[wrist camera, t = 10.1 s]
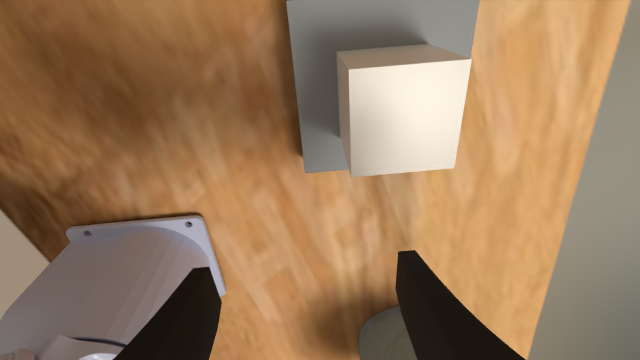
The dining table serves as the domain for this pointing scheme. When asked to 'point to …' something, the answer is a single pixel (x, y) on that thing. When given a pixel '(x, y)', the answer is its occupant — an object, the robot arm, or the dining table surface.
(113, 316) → the robot arm
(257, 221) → the dining table surface
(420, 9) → the stud block
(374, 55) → the cream colored cube
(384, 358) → the teal cup
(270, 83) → the dining table surface
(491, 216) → the dining table surface
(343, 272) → the dining table surface
